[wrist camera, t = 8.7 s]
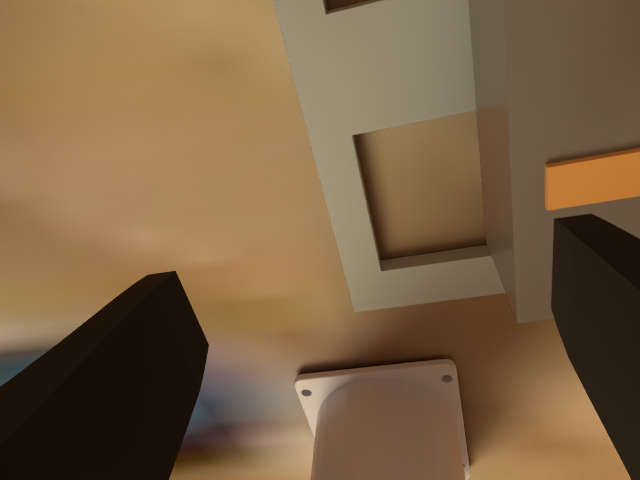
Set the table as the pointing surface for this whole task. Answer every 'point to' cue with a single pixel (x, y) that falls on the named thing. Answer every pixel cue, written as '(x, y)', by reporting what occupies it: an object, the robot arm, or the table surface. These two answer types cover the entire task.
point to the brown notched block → (554, 129)
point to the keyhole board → (382, 127)
